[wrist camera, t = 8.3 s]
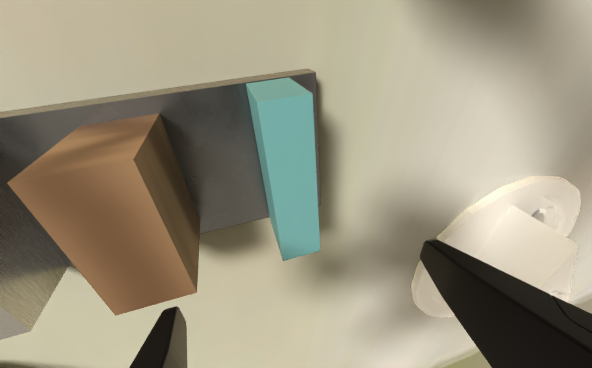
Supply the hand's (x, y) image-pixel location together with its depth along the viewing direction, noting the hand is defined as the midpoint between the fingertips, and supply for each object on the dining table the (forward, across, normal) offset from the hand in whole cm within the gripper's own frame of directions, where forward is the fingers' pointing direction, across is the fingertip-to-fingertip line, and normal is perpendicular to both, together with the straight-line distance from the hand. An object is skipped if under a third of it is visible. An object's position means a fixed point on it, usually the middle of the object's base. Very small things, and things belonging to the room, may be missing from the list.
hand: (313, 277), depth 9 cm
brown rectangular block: (+10, +7, 0) cm, 13 cm away
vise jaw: (+10, -1, 0) cm, 10 cm away
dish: (+12, -30, +21) cm, 38 cm away
